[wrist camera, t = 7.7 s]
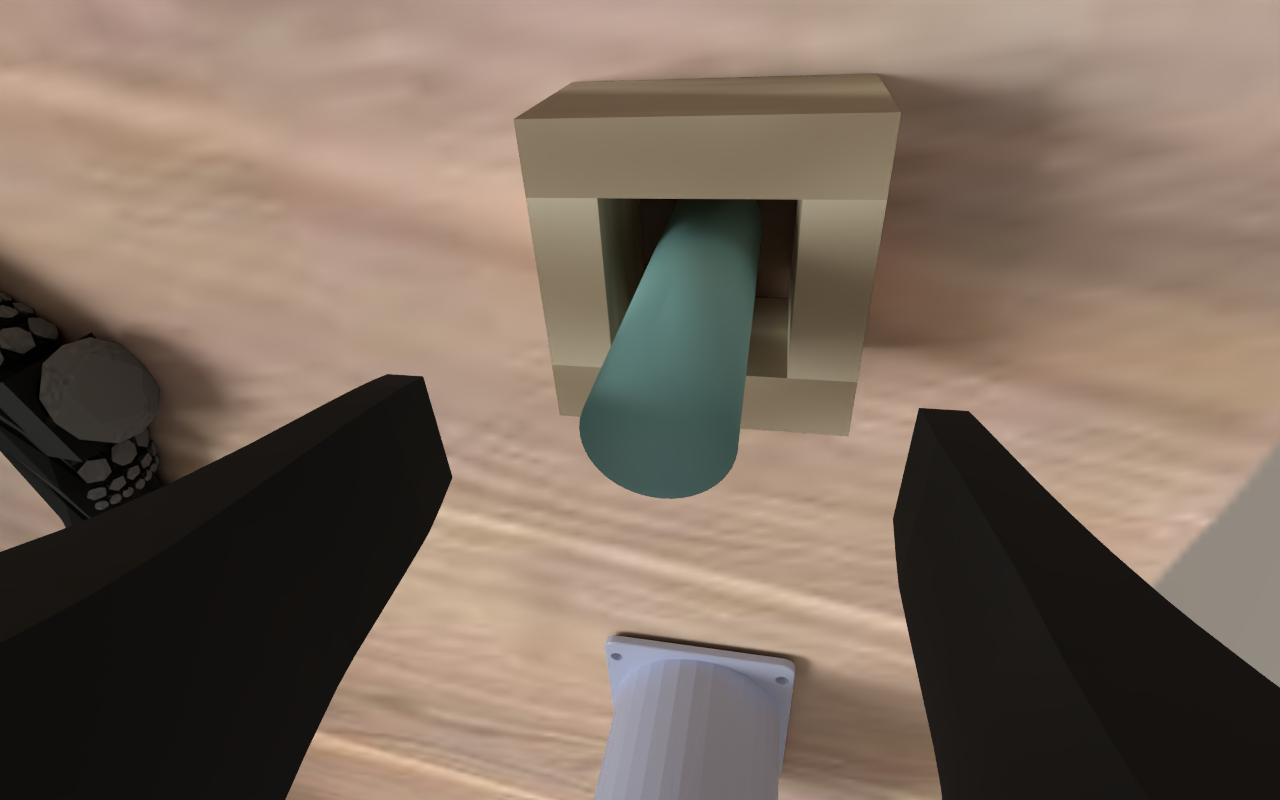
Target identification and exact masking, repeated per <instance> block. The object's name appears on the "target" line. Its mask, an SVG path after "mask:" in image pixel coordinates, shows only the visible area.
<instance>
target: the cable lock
mask: <svg viewBox="0 0 1280 800" xmlns="http://www.w3.org/2000/svg"><path fill="white" fill-rule="evenodd" d="M11 300H12V299H11V297H10V296H9V295H7V294H4V293H0V451H1V452H2V453H3V455H4V456H5V457H6V458H7V459H8V460H9V461H10V462H11V463H12V465H13V466H14V467H15V468H16V469H17V470H18V471H19V472H20V473H21V475H22V476H23V477H24V478H25V479H26V480H27V481H28V482H29V484H30V485H31V486H32V487H33V488H34V489H35V490H36V491H37V492H38V494H39V495H40V496H41V497H42V498H43V499H44V500H45V501H46V502H47V504H48V505H49V506H50V507H51V508H52V509H53V510H54V511H55V512H56V514H57V515H58V516H59V517H60V518H61V519H62V521H63V523H64V525H65V527H66V528H67V527H70V526H72V525H75V524H77V523H80V522H82V521H85V520H87V519H90V518H92V517H94V516H97V515H99V514H102V513H104V512H106V511H109V510H111V509H114V508H116V507H118V506H121V505H123V504H125V503H128V502H130V501H132V500H135V499H137V498H139V497H141V496H144V495H146V494H148V493H150V492H153V491H155V490H157V489H159V488H161V487H163V486H162V485H161V483H160V482H159V480H158V479H157V478H156V476H155V475H154V473H155V472H156V470H157V465H159V460H160V459H159V458H158V456H157V455H156V456H155V454H156V452H157V451H156V445H155V443H154V442H151V443H150V441H149V433H148V428H146V427H147V426H148V425H149V424H150V423H151V422H152V420H153V419H154V418H155V417H156V416H157V415H158V404H159V387H158V386H157V384H156V382H155V381H154V379H153V377H152V376H151V375H150V373H149V372H148V370H147V369H146V368H145V366H144V365H143V364H142V363H141V362H140V361H139V360H138V359H137V358H136V357H135V356H134V355H133V354H132V353H130V352H129V351H128V350H127V349H126V348H125V347H124V346H122V345H121V344H117V343H113V342H109V341H104V340H100V339H97V338H96V337H95V336H94V335H93V334H92V333H90V334H88V335H86V336H84V337H82V338H80V339H79V340H77V341H75V342H72V343H69V344H65V345H62V346H61V347H60V348H59V349H58V350H57V351H56V350H55V349H54V348H53V347H52V346H51V345H50V344H49V343H50V342H52V341H54V340H56V339H58V337H57V336H58V334H59V333H58V331H57V328H56V326H55V325H53V324H51V323H49V322H47V321H45V320H44V319H42V318H32V317H33V316H35V315H33V314H32V313H34V312H33V309H32V308H30V307H28V306H27V305H24V304H22V303H12V304H13V306H7V305H8V304H10V303H11ZM27 321H28V322H27Z"/></svg>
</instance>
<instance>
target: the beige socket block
mask: <svg viewBox="0 0 1280 800" xmlns="http://www.w3.org/2000/svg"><path fill="white" fill-rule="evenodd" d="M900 118H901V111H900V109H899V108H898V106H897V104H896V103H895V101H894V100H893V98H892V96H891V95H890V93H889V92H888V90H887V88H886V87H885V85H884V84H883V82H882V80H881V79H880V77H879V76H878V74H849V75H814V76H780V77H745V78H711V79H676V80H642V81H607V82H573V83H570V84H569V85H567V86H565V87H564V88H562V89H561V90H559V91H558V92H556V93H554V94H553V95H551V96H550V97H548V98H546V99H545V100H543V101H542V102H540V103H539V104H537V105H535V106H534V107H532V108H531V109H529V110H528V111H526V112H524V113H523V114H521V115H520V116H518V117H516V118H515V119H514V125H515V131H516V137H517V144H518V150H519V157H520V163H521V169H522V176H523V182H524V189H525V195H526V201H527V208H528V214H529V221H530V227H531V233H532V240H533V246H534V252H535V259H536V265H537V272H538V278H539V284H540V291H541V297H542V304H543V310H544V316H545V323H546V329H547V336H548V342H549V348H550V355H551V361H552V368H553V374H554V380H555V387H556V393H557V400H558V406H559V412H560V415H564V416H577V417H581V413H582V410H583V407H584V405H585V403H586V400H587V398H588V396H589V394H590V392H591V389H592V387H593V385H594V383H595V381H596V378H597V376H598V374H599V372H600V370H601V367H602V365H603V363H604V361H605V359H606V356H607V354H608V352H609V350H610V348H611V345H612V343H613V341H614V339H615V337H616V334H617V332H618V330H619V328H620V326H621V323H622V321H623V319H624V317H625V314H626V312H627V310H628V308H629V306H630V303H631V301H632V299H633V297H634V295H635V292H636V290H637V288H638V286H639V284H640V281H641V279H642V277H643V275H644V273H643V255H642V237H641V220H640V202H639V199H795V200H797V203H796V215H795V227H794V239H793V251H792V263H791V275H790V287H789V299H781V298H755V301H754V309H753V318H752V327H751V336H750V345H749V354H748V363H747V371H746V380H745V389H744V398H743V407H742V416H741V424H740V428H742V429H756V430H770V431H783V432H797V433H811V434H825V435H838V436H849V430H850V423H851V417H852V411H853V405H854V399H855V393H856V387H857V381H858V375H859V368H860V362H861V356H862V350H863V344H864V338H865V332H866V326H867V320H868V313H869V307H870V301H871V295H872V289H873V283H874V277H875V271H876V265H877V258H878V252H879V246H880V240H881V234H882V228H883V222H884V216H885V210H886V204H887V197H888V191H889V185H890V179H891V173H892V167H893V161H894V155H895V149H896V142H897V136H898V130H899V124H900Z"/></svg>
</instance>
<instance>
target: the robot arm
mask: <svg viewBox="0 0 1280 800" xmlns="http://www.w3.org/2000/svg"><path fill="white" fill-rule="evenodd" d="M451 479H452V474H451V471H450V467H449V464H448V460H447V457H446V454H445V450H444V447H443V443H442V440H441V436H440V433H439V430H438V426H437V423H436V419H435V416H434V412H433V409H432V406H431V402H430V399H429V395H428V392H427V388H426V385H425V381H424V378H423V377H422V376H407V375H391V374H387V375H385V376H382V377H380V378H377V379H375V380H372V381H370V382H368V383H366V384H364V385H362V386H360V387H358V388H355V389H353V390H351V391H349V392H347V393H345V394H344V395H342V396H340V397H338V398H336V399H334V400H332V401H330V402H328V403H326V404H324V405H322V406H321V407H319V408H317V409H315V410H313V411H311V412H309V413H307V414H305V415H304V416H302V417H300V418H298V419H296V420H294V421H292V422H290V423H289V424H287V425H285V426H283V427H281V428H279V429H277V430H275V431H273V432H272V433H270V434H268V435H266V436H264V437H262V438H260V439H258V440H256V441H255V442H253V443H251V444H249V445H247V446H245V447H243V448H241V449H239V450H237V451H235V452H233V453H231V454H229V455H227V456H225V457H223V458H221V459H219V460H217V461H215V462H213V463H211V464H209V465H207V466H205V467H202V468H200V469H198V470H196V471H194V472H192V473H190V474H188V475H186V476H184V477H182V478H180V479H178V480H176V481H174V482H172V483H170V484H168V485H166V486H163V487H161V488H159V489H157V490H155V491H153V492H150V493H148V494H146V495H144V496H141V497H139V498H137V499H135V500H132V501H130V502H128V503H125V504H123V505H121V506H118V507H116V508H114V509H111V510H109V511H106V512H104V513H102V514H99V515H97V516H94V517H92V518H90V519H87V520H85V521H82V522H80V523H77V524H75V525H72V526H70V527H67V528H65V529H62V530H60V531H57V532H54V533H52V534H49V535H46V536H43V537H41V538H38V539H35V540H32V541H30V542H27V543H24V544H21V545H18V546H16V547H13V548H10V549H7V550H5V551H2V552H0V800H285V799H286V797H287V794H288V792H289V790H290V788H291V785H292V783H293V781H294V779H295V776H296V774H297V772H298V770H299V767H300V765H301V763H302V761H303V758H304V756H305V754H306V752H307V749H308V747H309V745H310V743H311V741H312V739H313V737H314V735H315V733H316V731H317V729H318V727H319V724H320V722H321V720H322V718H323V716H324V714H325V712H326V710H327V708H328V706H329V704H330V701H331V699H332V697H333V695H334V693H335V691H336V689H337V687H338V685H339V683H340V682H341V680H342V678H343V676H344V674H345V672H346V671H347V669H348V667H349V665H350V663H351V662H352V660H353V658H354V656H355V655H356V653H357V651H358V650H359V648H360V646H361V645H362V643H363V642H364V640H365V638H366V637H367V635H368V633H369V632H370V630H371V628H372V627H373V625H374V623H375V622H376V620H377V619H378V617H379V615H380V614H381V612H382V610H383V609H384V607H385V605H386V604H387V602H388V600H389V599H390V597H391V596H392V594H393V592H394V591H395V589H396V587H397V586H398V584H399V582H400V581H401V579H402V578H403V576H404V574H405V573H406V571H407V569H408V567H409V566H410V564H411V562H412V561H413V559H414V557H415V556H416V554H417V552H418V551H419V549H420V547H421V546H422V544H423V542H424V540H425V539H426V537H427V535H428V533H429V531H430V529H431V527H432V525H433V523H434V520H435V518H436V516H437V514H438V511H439V509H440V507H441V504H442V502H443V499H444V497H445V494H446V492H447V489H448V487H449V484H450V482H451ZM893 525H894V538H895V551H896V562H897V573H898V583H899V589H900V594H901V599H902V604H903V609H904V613H905V618H906V623H907V627H908V632H909V637H910V641H911V646H912V650H913V655H914V659H915V664H916V668H917V673H918V677H919V682H920V687H921V691H922V696H923V700H924V705H925V709H926V714H927V718H928V723H929V727H930V732H931V737H932V741H933V746H934V751H935V756H936V762H937V768H938V773H939V779H940V785H941V792H942V800H1280V688H1279V687H1278V686H1277V685H1275V684H1274V683H1273V682H1271V681H1270V680H1269V679H1267V678H1266V677H1265V676H1263V675H1262V674H1261V673H1259V672H1258V671H1257V670H1256V669H1254V668H1253V667H1252V666H1250V665H1249V664H1248V663H1246V662H1245V661H1244V660H1242V659H1241V658H1240V657H1239V656H1237V655H1236V654H1235V653H1233V652H1232V651H1231V650H1230V649H1228V648H1227V647H1225V646H1224V645H1223V644H1222V643H1220V642H1219V641H1218V640H1217V639H1215V638H1214V637H1213V636H1211V635H1210V634H1209V633H1207V632H1206V631H1205V630H1204V629H1202V628H1201V627H1200V626H1198V625H1197V624H1196V623H1194V622H1193V621H1192V620H1191V619H1190V618H1188V617H1187V616H1186V615H1185V614H1183V613H1182V612H1181V611H1180V610H1179V609H1177V608H1176V607H1175V606H1174V605H1172V604H1171V603H1170V602H1169V601H1168V600H1166V599H1165V598H1164V597H1163V596H1162V595H1160V594H1159V593H1158V592H1157V591H1156V590H1155V589H1154V588H1152V587H1151V586H1150V585H1149V584H1148V583H1147V582H1146V581H1144V580H1143V579H1142V578H1141V577H1140V576H1139V575H1137V574H1136V573H1135V572H1134V571H1133V570H1132V569H1131V568H1129V567H1128V566H1127V565H1126V564H1125V563H1124V562H1123V561H1121V560H1120V559H1119V558H1118V557H1117V556H1116V555H1114V554H1113V553H1112V552H1111V551H1110V550H1109V549H1108V548H1107V547H1106V546H1105V545H1103V544H1102V543H1101V542H1100V541H1099V540H1098V539H1097V538H1096V537H1095V536H1094V535H1093V534H1091V533H1090V532H1089V531H1088V530H1087V529H1086V528H1085V527H1084V526H1083V525H1082V524H1081V523H1080V522H1079V521H1078V520H1077V519H1075V518H1074V517H1073V516H1072V515H1071V514H1070V513H1069V512H1068V511H1067V510H1066V509H1065V508H1064V507H1063V506H1062V505H1061V504H1060V503H1059V502H1058V501H1057V500H1056V499H1055V498H1054V497H1053V496H1052V495H1051V494H1050V493H1049V492H1048V491H1047V490H1046V489H1045V488H1044V487H1043V486H1042V485H1041V484H1040V483H1039V482H1038V481H1037V480H1036V479H1035V478H1034V477H1033V476H1032V475H1031V474H1030V473H1029V472H1028V471H1027V470H1026V469H1025V468H1024V467H1023V466H1022V465H1021V464H1020V463H1019V462H1018V461H1017V460H1016V459H1015V458H1014V457H1013V456H1012V455H1011V454H1010V453H1009V452H1008V451H1007V450H1006V449H1005V448H1004V447H1003V446H1002V445H1001V444H1000V442H999V441H998V440H997V439H996V438H995V437H994V436H993V435H992V434H991V433H990V432H989V431H988V430H987V429H986V428H985V427H984V426H983V425H982V424H981V423H980V422H979V421H978V420H977V419H976V418H975V417H974V416H973V415H972V414H971V413H970V412H969V411H958V410H942V409H926V408H919V410H918V415H917V419H916V423H915V427H914V432H913V436H912V440H911V445H910V449H909V453H908V457H907V462H906V466H905V470H904V474H903V479H902V483H901V487H900V492H899V496H898V500H897V504H896V509H895V513H894V517H893ZM605 651H606V658H607V665H608V672H609V679H610V686H611V693H612V700H613V707H614V715H613V719H612V723H611V728H610V732H609V736H608V740H607V745H606V749H605V753H604V757H603V762H602V766H601V770H600V774H599V779H598V783H597V787H596V792H595V796H594V800H778V779H779V778H780V777H781V772H782V765H783V757H784V750H785V743H786V736H787V729H788V722H789V715H790V708H791V701H792V694H793V687H794V680H795V665H794V663H793V662H791V661H790V660H788V659H784V658H777V657H769V656H762V655H755V654H748V653H740V652H733V651H726V650H719V649H711V648H704V647H697V646H690V645H682V644H675V643H668V642H661V641H653V640H646V639H639V638H632V637H624V636H615V635H613V636H610V637H608V638H607V641H606V644H605Z"/></svg>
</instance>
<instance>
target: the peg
mask: <svg viewBox="0 0 1280 800" xmlns="http://www.w3.org/2000/svg"><path fill="white" fill-rule="evenodd" d="M762 229H763V219H762V214H761V211H760V208H759V206H758V204H757V202H756V200H755V199H678V201H677V203H676V204H675V207H674V209H673V211H672V213H671V215H670V218H669V220H668V222H667V224H666V226H665V229H664V231H663V233H662V235H661V237H660V240H659V242H658V244H657V246H656V248H655V251H654V253H653V255H652V257H651V259H650V262H649V264H648V266H647V268H646V270H645V273H644V275H643V277H642V279H641V281H640V284H639V286H638V288H637V290H636V292H635V295H634V297H633V299H632V301H631V303H630V306H629V308H628V310H627V312H626V314H625V317H624V319H623V321H622V323H621V326H620V328H619V330H618V332H617V334H616V337H615V339H614V341H613V343H612V345H611V348H610V350H609V352H608V354H607V356H606V359H605V361H604V363H603V365H602V367H601V370H600V372H599V374H598V376H597V378H596V381H595V383H594V385H593V387H592V389H591V392H590V394H589V396H588V398H587V400H586V403H585V405H584V407H583V410H582V413H581V417H580V426H579V428H580V436H581V440H582V444H583V446H584V449H585V451H586V453H587V455H588V456H589V458H590V460H591V461H592V462H593V463H594V465H595V466H596V467H597V468H598V469H599V470H600V471H601V472H602V473H603V474H604V475H605V476H606V477H608V478H609V479H610V480H612V481H613V482H615V483H616V484H618V485H620V486H622V487H624V488H625V489H628V490H630V491H633V492H635V493H638V494H641V495H645V496H650V497H656V498H670V499H673V498H683V497H689V496H693V495H696V494H699V493H702V492H704V491H706V490H708V489H710V488H712V487H713V486H715V485H716V484H718V483H719V482H720V481H721V480H722V479H723V478H724V477H725V476H726V475H727V474H728V472H729V471H730V469H731V468H732V466H733V464H734V462H735V459H736V455H737V451H738V442H739V433H740V424H741V416H742V407H743V398H744V389H745V380H746V371H747V363H748V354H749V345H750V336H751V327H752V318H753V309H754V301H755V292H756V283H757V274H758V265H759V256H760V247H761V239H762Z"/></svg>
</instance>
